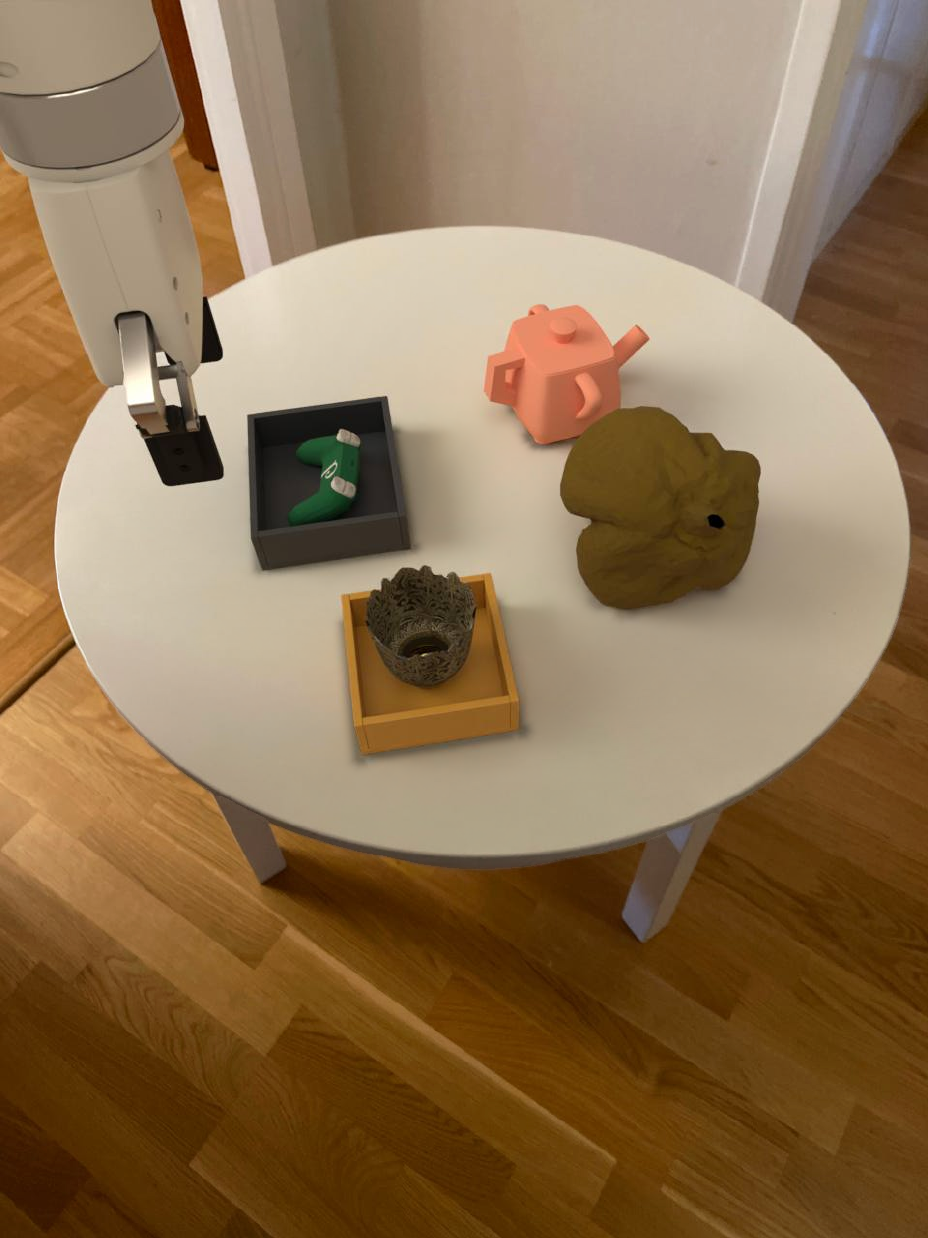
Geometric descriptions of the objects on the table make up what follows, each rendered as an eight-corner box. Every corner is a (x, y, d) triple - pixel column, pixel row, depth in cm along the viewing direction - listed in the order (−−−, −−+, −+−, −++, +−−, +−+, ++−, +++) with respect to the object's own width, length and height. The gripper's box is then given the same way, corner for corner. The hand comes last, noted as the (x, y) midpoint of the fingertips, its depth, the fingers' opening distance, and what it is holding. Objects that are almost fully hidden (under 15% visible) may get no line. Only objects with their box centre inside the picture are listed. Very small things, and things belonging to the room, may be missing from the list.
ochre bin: (361, 755, 65) (354, 726, 62) (348, 626, 72) (340, 594, 68) (518, 730, 66) (519, 700, 63) (491, 605, 72) (490, 572, 69)
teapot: (644, 391, 86) (658, 301, 78) (591, 474, 80) (600, 386, 72) (532, 355, 90) (534, 265, 82) (473, 432, 84) (470, 343, 76)
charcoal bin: (261, 570, 75) (250, 537, 72) (257, 448, 84) (246, 414, 80) (411, 549, 76) (406, 515, 73) (392, 430, 84) (387, 395, 81)
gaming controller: (318, 547, 78) (363, 512, 74) (281, 526, 76) (325, 489, 72) (328, 468, 83) (370, 432, 80) (293, 446, 81) (335, 408, 78)
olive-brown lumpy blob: (699, 658, 69) (739, 532, 57) (527, 585, 73) (533, 455, 62) (761, 534, 76) (808, 400, 64) (601, 475, 80) (618, 339, 69)
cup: (360, 697, 67) (345, 634, 61) (402, 619, 71) (391, 552, 65) (456, 729, 65) (451, 667, 59) (493, 647, 69) (491, 581, 63)
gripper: (15, 18, 43) (136, 329, 57) (-46, 228, 33) (119, 543, 47) (179, 1, 43) (259, 313, 57) (168, 203, 33) (268, 522, 47)
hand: (196, 416), depth 52 cm, fingers open, 9 cm apart
